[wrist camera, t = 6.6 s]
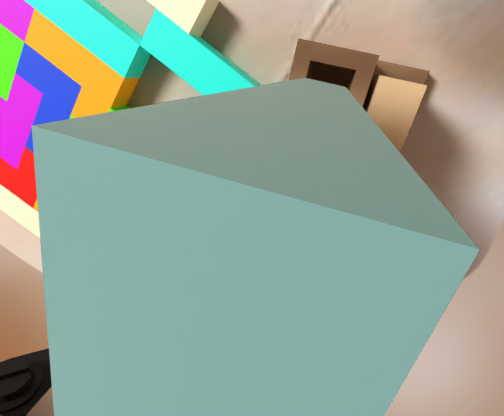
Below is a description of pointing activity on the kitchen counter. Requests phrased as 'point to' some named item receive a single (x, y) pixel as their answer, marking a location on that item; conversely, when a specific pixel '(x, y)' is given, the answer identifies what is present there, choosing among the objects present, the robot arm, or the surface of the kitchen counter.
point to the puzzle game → (88, 73)
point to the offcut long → (393, 106)
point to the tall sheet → (238, 257)
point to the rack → (347, 67)
